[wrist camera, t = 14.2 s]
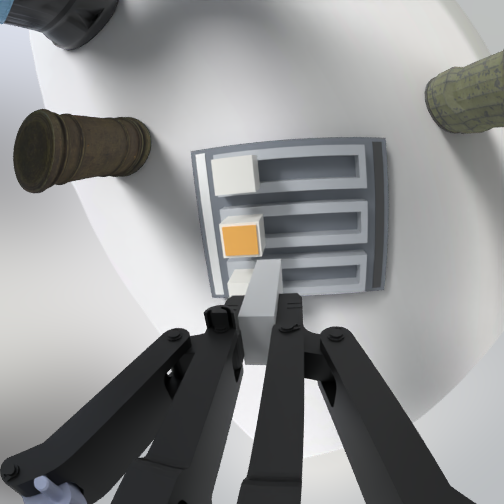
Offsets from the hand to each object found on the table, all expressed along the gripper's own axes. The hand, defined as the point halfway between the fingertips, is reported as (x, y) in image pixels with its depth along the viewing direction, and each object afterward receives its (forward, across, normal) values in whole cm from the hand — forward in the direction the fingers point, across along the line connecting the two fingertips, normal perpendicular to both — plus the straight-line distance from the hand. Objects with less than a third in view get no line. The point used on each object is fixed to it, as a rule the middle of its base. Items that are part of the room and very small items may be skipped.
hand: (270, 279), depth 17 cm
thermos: (+19, +26, +16) cm, 36 cm away
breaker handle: (+17, -4, 0) cm, 17 cm away
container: (+19, -21, +13) cm, 31 cm away
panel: (+19, +2, 0) cm, 19 cm away
